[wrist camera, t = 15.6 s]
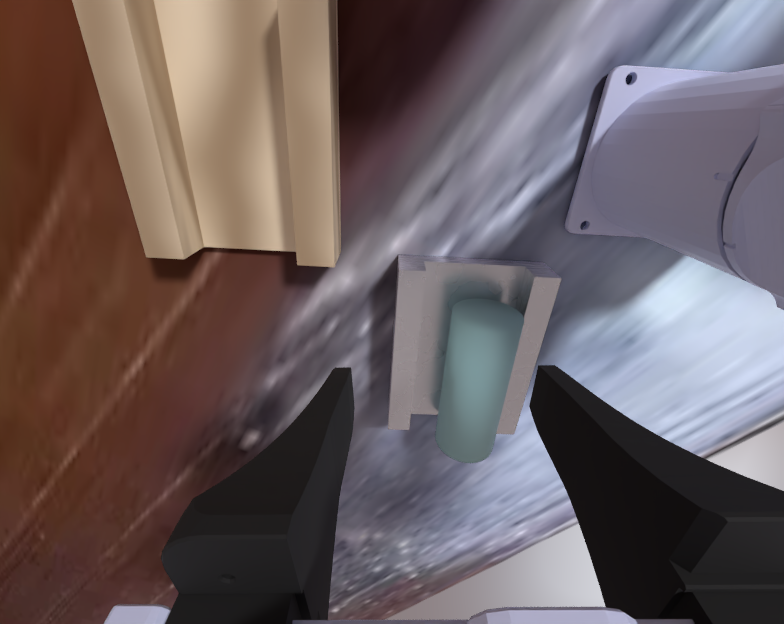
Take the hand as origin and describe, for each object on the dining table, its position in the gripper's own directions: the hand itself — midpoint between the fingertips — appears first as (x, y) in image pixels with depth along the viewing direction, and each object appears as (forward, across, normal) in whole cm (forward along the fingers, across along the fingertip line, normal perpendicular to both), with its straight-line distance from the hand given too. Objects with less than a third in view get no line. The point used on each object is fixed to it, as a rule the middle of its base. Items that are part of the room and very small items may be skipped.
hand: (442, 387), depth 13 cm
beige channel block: (+10, +10, -9) cm, 16 cm away
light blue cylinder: (+7, -3, +6) cm, 9 cm away
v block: (+10, -2, +4) cm, 11 cm away
